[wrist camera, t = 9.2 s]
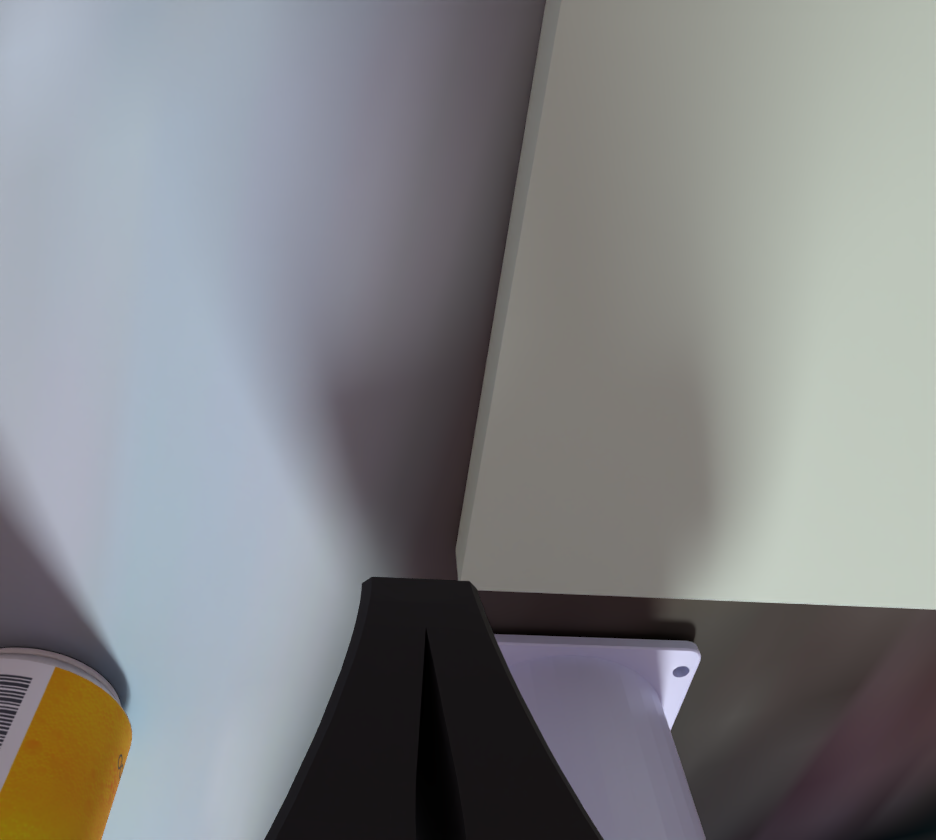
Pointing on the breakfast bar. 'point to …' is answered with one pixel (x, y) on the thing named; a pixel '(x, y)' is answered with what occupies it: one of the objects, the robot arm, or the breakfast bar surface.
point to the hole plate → (717, 310)
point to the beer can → (57, 747)
